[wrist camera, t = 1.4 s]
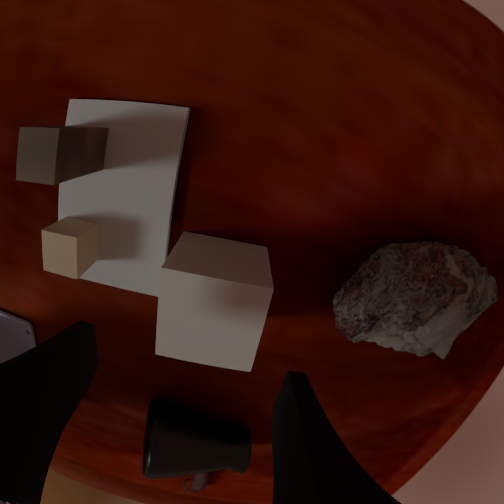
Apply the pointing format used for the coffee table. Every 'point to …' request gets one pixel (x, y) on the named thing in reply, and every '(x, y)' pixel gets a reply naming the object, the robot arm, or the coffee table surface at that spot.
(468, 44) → the coffee table surface
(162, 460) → the coffee pot
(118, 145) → the grey board
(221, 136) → the coffee table surface
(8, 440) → the robot arm
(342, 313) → the mineral rock
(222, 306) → the beige block
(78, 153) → the walnut post
